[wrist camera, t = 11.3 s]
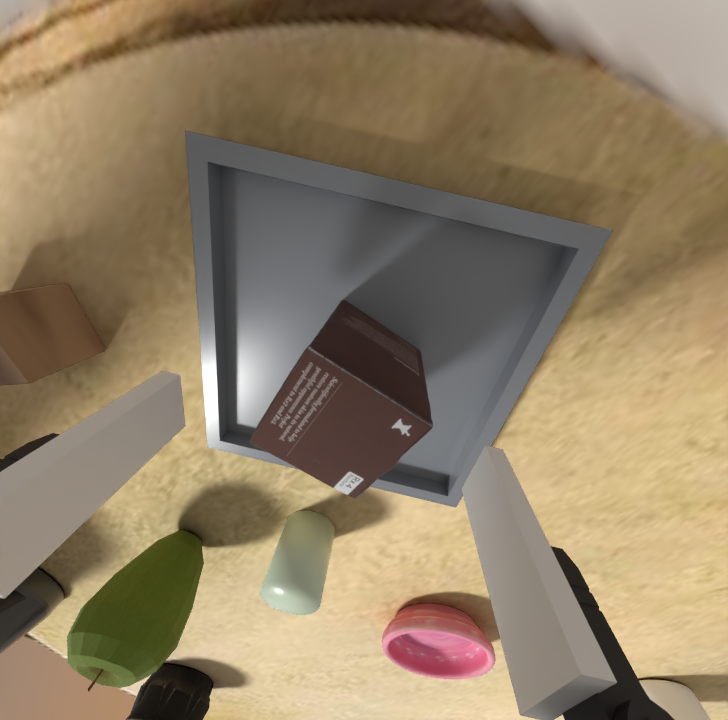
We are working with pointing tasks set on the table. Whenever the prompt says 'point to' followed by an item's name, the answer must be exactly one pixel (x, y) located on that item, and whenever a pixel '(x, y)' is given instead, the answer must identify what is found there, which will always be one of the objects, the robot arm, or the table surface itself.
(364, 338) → the box
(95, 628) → the apple
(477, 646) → the pink shallow round dish
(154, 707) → the container
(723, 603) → the table surface
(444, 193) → the tray
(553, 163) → the table surface
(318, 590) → the sage canister
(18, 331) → the walnut block
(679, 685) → the pill bottle
